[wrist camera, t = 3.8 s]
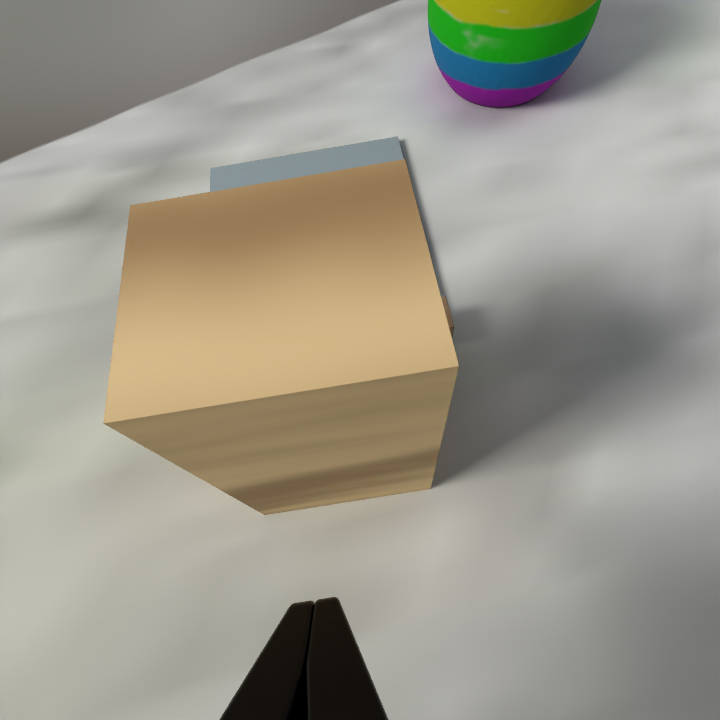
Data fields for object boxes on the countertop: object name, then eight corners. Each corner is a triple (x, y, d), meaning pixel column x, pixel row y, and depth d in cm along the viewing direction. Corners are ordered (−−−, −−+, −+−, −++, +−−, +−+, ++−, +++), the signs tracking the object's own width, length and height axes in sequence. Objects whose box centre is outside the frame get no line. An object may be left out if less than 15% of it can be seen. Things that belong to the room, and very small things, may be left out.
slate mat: (450, 345, 19) (453, 326, 18) (209, 384, 19) (195, 368, 18) (397, 141, 25) (397, 115, 23) (212, 173, 25) (201, 148, 24)
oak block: (430, 489, 17) (459, 366, 8) (264, 514, 17) (103, 423, 8) (405, 364, 19) (404, 159, 10) (259, 388, 19) (130, 205, 10)
